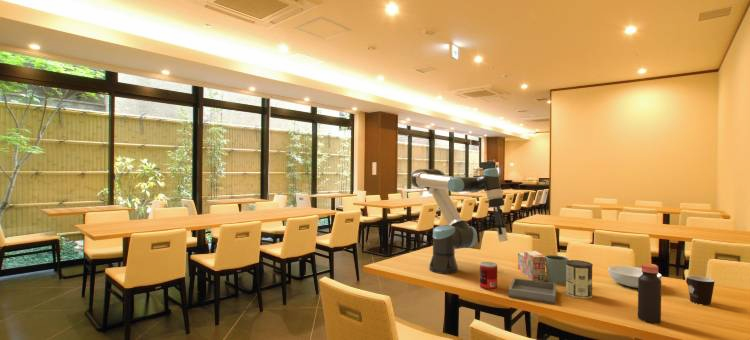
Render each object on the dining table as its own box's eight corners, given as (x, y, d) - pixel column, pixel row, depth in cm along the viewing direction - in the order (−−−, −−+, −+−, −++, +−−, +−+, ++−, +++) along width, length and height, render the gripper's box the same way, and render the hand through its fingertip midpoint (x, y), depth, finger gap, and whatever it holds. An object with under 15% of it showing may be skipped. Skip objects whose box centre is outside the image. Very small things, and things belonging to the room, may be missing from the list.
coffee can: (580, 290, 168) (581, 259, 168) (598, 298, 158) (598, 265, 158) (560, 291, 166) (560, 260, 166) (576, 299, 156) (576, 266, 156)
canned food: (499, 286, 172) (499, 263, 172) (494, 291, 166) (494, 266, 166) (482, 283, 176) (482, 260, 176) (477, 288, 170) (477, 264, 170)
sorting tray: (508, 296, 158) (508, 288, 158) (513, 285, 174) (513, 277, 174) (555, 304, 150) (555, 295, 150) (555, 291, 166) (556, 283, 166)
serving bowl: (663, 285, 177) (664, 271, 177) (658, 296, 161) (658, 280, 161) (613, 276, 191) (613, 263, 191) (603, 285, 176) (603, 271, 176)
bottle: (641, 322, 133) (641, 267, 133) (635, 315, 140) (636, 262, 140) (663, 325, 131) (664, 269, 131) (656, 318, 137) (657, 264, 137)
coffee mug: (716, 308, 148) (717, 283, 148) (688, 303, 152) (689, 279, 152) (709, 299, 158) (710, 276, 158) (683, 295, 162) (684, 272, 162)
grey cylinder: (542, 281, 180) (542, 257, 180) (548, 277, 188) (549, 253, 188) (564, 286, 173) (565, 261, 173) (570, 281, 181) (570, 257, 181)
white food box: (517, 269, 203) (517, 246, 203) (529, 269, 203) (529, 247, 203) (532, 281, 182) (532, 256, 182) (545, 281, 182) (545, 256, 182)
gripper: (500, 195, 174) (509, 240, 169) (505, 199, 196) (513, 239, 192) (484, 197, 176) (492, 242, 172) (490, 201, 199) (498, 241, 194)
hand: (503, 241), depth 182 cm, fingers open, 13 cm apart
